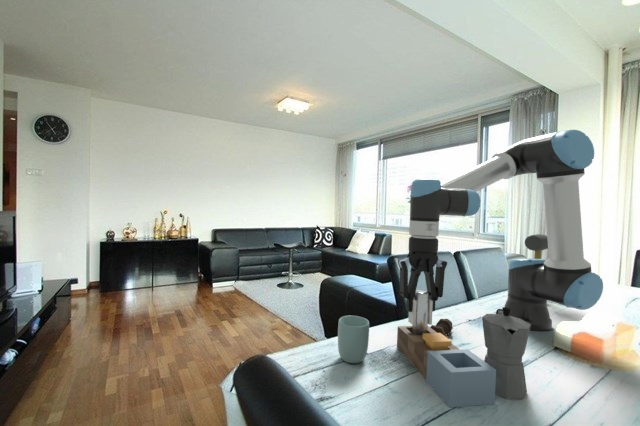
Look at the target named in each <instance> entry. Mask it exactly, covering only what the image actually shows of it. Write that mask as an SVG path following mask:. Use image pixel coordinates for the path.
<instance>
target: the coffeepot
mask: <svg viewBox="0 0 640 426" xmlns="http://www.w3.org/2000/svg"><path fill="white" fill-rule="evenodd" d="M510 310H511V309H510V308H508V307H504V306H503V307H501V308H498V309H496V311H495V313H486V314H484V315H483V316H482V317H481V319H482V326H483V327H482V329H483V330H482V331H483V337H484V338H483V339H484V347H486V349H487V350H486V354H485V356H484V359H483V361H485V362H486V363H487V364H489V365H490V366H492V367H493V368H494V369H496V384H495V396H497V397H500V398H503V399H506V400H513V401H516V400H517V401H518V400H522V399H524V398H525V397H526V395H527V393H528V388H527V382H526V374H525V367H524V363H523V357H524V356H525V355H524V354H525V352H526V348H527V344H528V339H529V334H530V331H531V330H530V327H531V324H529V323H527V322H525V321H523V320H522V319H520V318H516V317H513V316H509V314H510Z"/></svg>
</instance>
